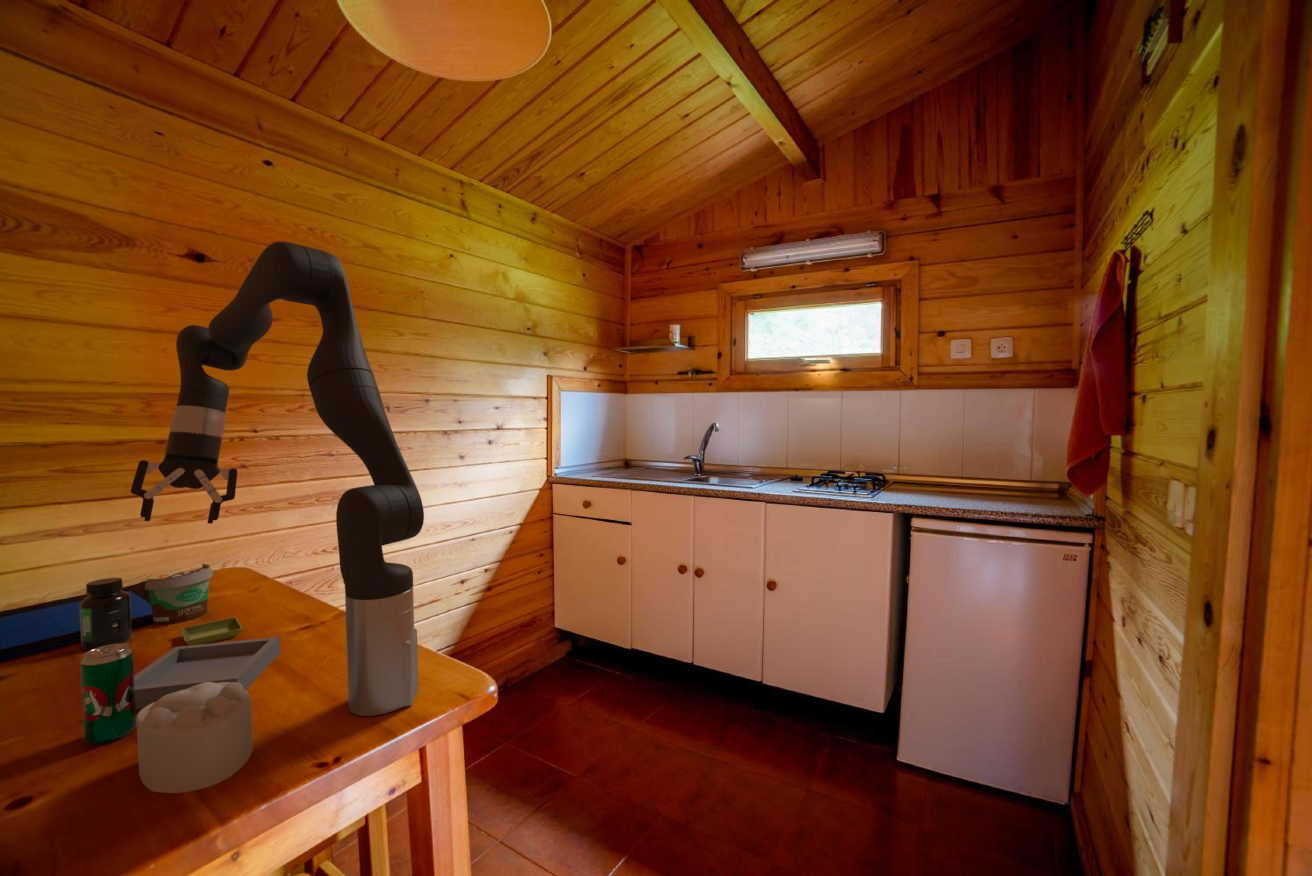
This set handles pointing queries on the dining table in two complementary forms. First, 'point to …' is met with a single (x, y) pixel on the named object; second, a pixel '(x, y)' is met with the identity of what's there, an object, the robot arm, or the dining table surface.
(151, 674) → the tray
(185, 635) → the green square dish
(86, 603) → the supplement bottle
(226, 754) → the lumpy-topped squat cylinder
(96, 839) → the dining table surface
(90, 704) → the soda can
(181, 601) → the food container
